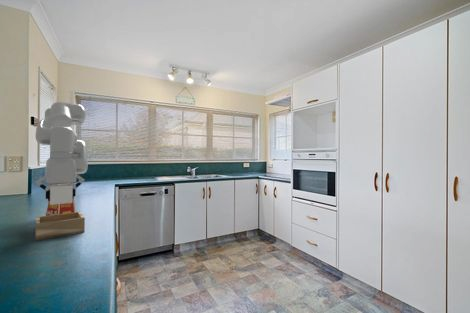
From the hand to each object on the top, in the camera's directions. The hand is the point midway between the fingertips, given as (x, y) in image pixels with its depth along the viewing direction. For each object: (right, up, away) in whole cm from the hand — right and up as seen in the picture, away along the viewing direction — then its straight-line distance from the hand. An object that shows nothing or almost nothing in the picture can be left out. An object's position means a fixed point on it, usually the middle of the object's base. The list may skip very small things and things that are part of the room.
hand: (60, 199), depth 91 cm
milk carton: (-9, -14, +12) cm, 21 cm away
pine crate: (0, -14, 0) cm, 14 cm away
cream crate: (0, -1, 0) cm, 1 cm away
